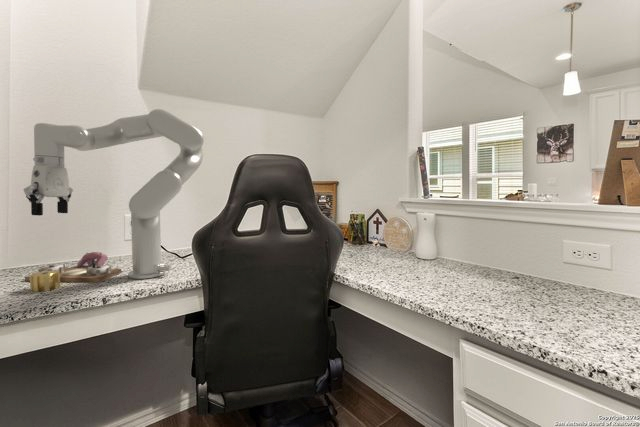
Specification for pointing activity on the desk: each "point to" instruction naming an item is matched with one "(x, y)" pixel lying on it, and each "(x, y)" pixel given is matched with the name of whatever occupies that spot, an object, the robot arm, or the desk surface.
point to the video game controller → (93, 255)
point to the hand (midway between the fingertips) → (50, 214)
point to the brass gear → (45, 280)
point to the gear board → (82, 273)
